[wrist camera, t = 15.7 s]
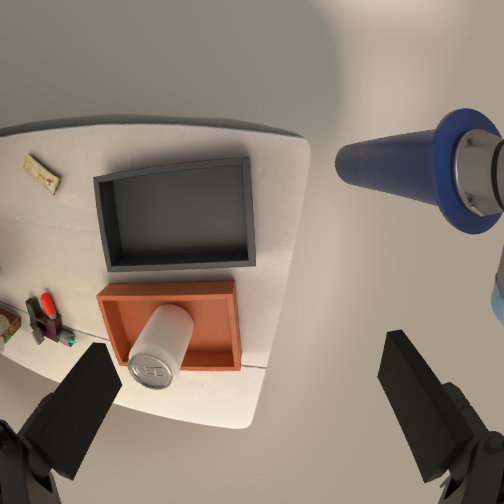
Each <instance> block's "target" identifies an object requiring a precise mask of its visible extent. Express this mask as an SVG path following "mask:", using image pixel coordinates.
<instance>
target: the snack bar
mask: <svg viewBox="0 0 504 504" xmlns="http://www.w3.org/2000/svg"><path fill="white" fill-rule="evenodd" d="M23 169H24V170H25V171H26V172H28V173H29V174H30V175H31V176H32V177H33V178H34V179H36V180H37V181H38V182H39V183H40V184H41V185H42V186H44V187H45V188H46V189H47V190H48V191H49V192H50V193H51V194H52V195H54V194H55V192H54V191H55V189H56V190H57V188H56V187H58V185H59V183H60V179H59V178H58V177H57V176H56V177H55V176H54V175H53V174H52V173H50V172H49V171H48V170H46V169H45V168H44V167H43V166H42V165H41V164H39V163H38V162H37V161H36V160H34V159H33V158H32V157H31V156H30V155H28V154H27V156H26V159H25V164H24V167H23Z"/></svg>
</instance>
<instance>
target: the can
mask: <svg viewBox="0 0 504 504" xmlns="http://www.w3.org/2000/svg"><path fill="white" fill-rule="evenodd" d="M193 328H194V324H193V320H192V318H191V316H190V315H189V313H188V312H187V311H186V310H184V309H183V308H181V307H179V306H177V305H172V304H166V305H162V306H160V307H158V308H157V309H156V310H155V312H154V313H153V315H152V316H151V318H150V319H149V321H148V323H147V324H146V326H145V327H144V329H143V330H142V332H141V334H140V335H139V337H138V339H137V340H136V342H135V344H134V345H133V347H132V349H131V351H130V353H129V361H128V371H129V373H130V375H131V376H132V377H133V379H134V380H136V381H137V382H138V383H139V384H141V385H143V386H145V387H147V388H150V389H156V390H159V389H164V388H167V387H168V386H169V385H170V384H171V382H172V381H173V380H174V379H175V378H176V377H177V375H178V373H179V370H180V367H181V364H182V361H183V358H184V356H185V353H186V350H187V347H188V344H189V341H190V338H191V335H192V332H193Z"/></svg>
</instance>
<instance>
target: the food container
mask: <svg viewBox="0 0 504 504" xmlns="http://www.w3.org/2000/svg"><path fill="white" fill-rule="evenodd" d="M20 326H21V316H20V315H18V314H15V313H13V312H11V311H9V310H7V309H5V308H3V307H2V306H0V353H1V352H3V351H4V347H5V346H4V345H5V344H6V343H7V341H8V340H9V339H10V338H11V337H12V336H13V335H14V334H15V332H16V331H17V330H18V329H19V328H20Z"/></svg>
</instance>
